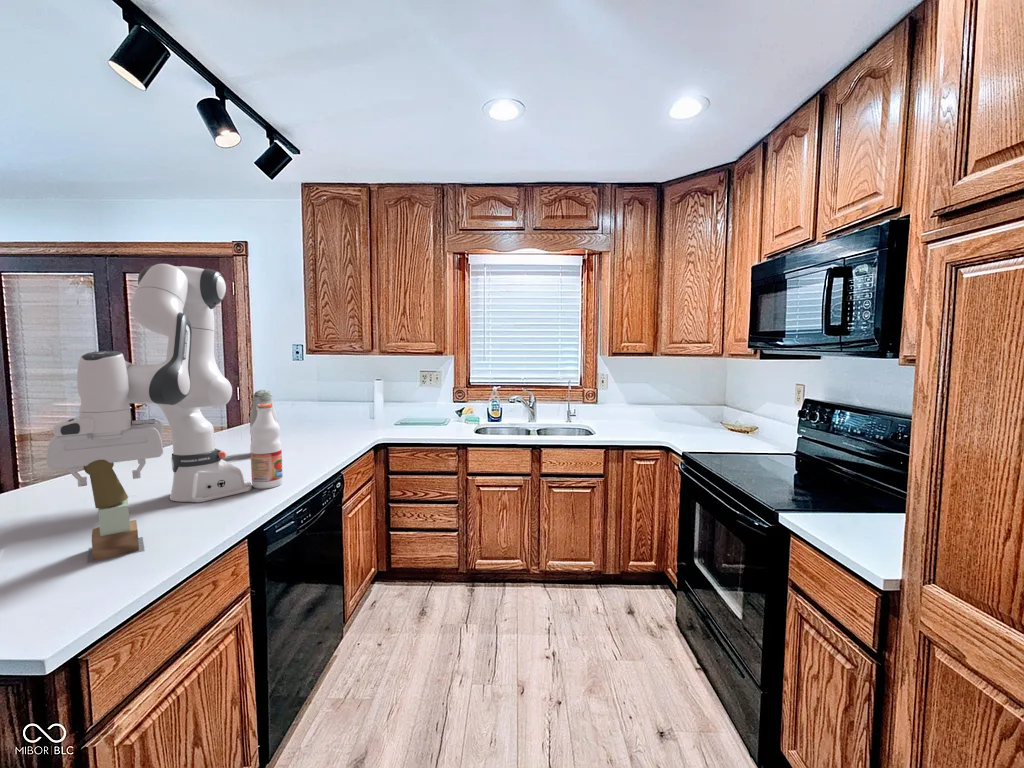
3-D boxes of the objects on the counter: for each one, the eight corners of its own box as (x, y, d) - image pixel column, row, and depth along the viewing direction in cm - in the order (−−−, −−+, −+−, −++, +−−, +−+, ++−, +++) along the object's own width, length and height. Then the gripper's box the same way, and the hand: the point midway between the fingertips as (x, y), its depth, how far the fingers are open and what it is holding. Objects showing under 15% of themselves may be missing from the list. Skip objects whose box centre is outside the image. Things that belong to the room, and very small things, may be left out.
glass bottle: (246, 455, 203) (243, 390, 200) (268, 450, 212) (266, 388, 209) (261, 458, 198) (258, 391, 196) (283, 452, 208) (280, 389, 205)
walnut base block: (137, 539, 116) (136, 519, 116) (139, 550, 110) (137, 529, 110) (94, 548, 111) (92, 527, 111) (93, 560, 105) (91, 538, 105)
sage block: (129, 521, 115) (127, 497, 114) (130, 530, 109) (128, 505, 109) (100, 526, 111) (98, 502, 111) (100, 536, 106) (98, 510, 105)
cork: (134, 494, 112) (119, 451, 110) (114, 506, 106) (97, 461, 104) (110, 497, 113) (94, 454, 110) (88, 510, 107) (71, 464, 104)
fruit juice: (250, 483, 164) (247, 403, 161) (280, 479, 169) (277, 401, 166) (253, 491, 156) (249, 407, 153) (284, 486, 161) (281, 404, 158)
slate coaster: (142, 539, 118) (142, 536, 118) (144, 554, 110) (144, 550, 110) (89, 551, 111) (88, 548, 111) (87, 567, 104) (87, 563, 104)
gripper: (161, 416, 117) (165, 471, 118) (46, 425, 104) (51, 486, 105) (163, 419, 112) (167, 476, 113) (42, 429, 99) (48, 493, 100)
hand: (110, 481), depth 109 cm, fingers open, 8 cm apart
